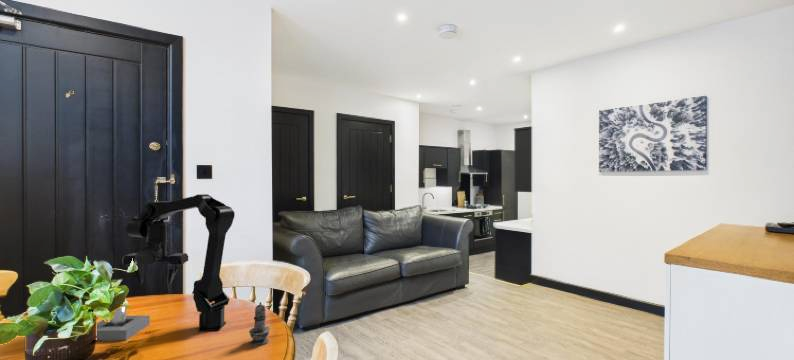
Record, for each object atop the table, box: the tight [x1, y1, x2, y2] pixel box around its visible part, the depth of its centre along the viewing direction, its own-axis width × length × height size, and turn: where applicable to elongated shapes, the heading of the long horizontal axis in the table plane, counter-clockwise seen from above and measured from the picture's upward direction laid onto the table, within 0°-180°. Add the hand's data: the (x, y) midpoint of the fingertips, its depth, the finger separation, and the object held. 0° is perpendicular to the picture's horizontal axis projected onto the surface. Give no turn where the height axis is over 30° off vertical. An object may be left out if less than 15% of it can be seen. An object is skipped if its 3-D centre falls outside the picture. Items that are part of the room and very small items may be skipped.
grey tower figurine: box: [248, 301, 271, 347], centre depth 109 cm, size 6×6×12 cm
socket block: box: [96, 315, 151, 342], centre depth 113 cm, size 12×12×3 cm
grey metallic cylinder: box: [110, 304, 127, 327], centre depth 113 cm, size 4×4×8 cm
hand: (155, 283), depth 125 cm, fingers open, 9 cm apart
